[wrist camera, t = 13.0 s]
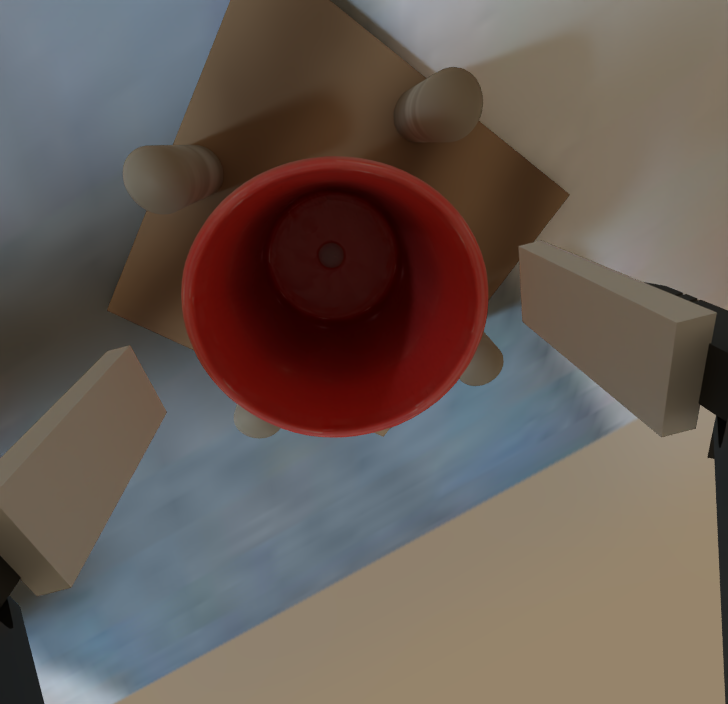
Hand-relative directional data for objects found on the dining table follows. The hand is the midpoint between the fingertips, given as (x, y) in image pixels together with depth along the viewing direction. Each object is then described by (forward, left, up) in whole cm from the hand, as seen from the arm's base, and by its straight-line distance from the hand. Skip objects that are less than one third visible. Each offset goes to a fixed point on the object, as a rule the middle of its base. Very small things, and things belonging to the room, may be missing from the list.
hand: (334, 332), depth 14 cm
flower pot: (0, 0, -11) cm, 11 cm away
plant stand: (0, 0, -11) cm, 11 cm away
